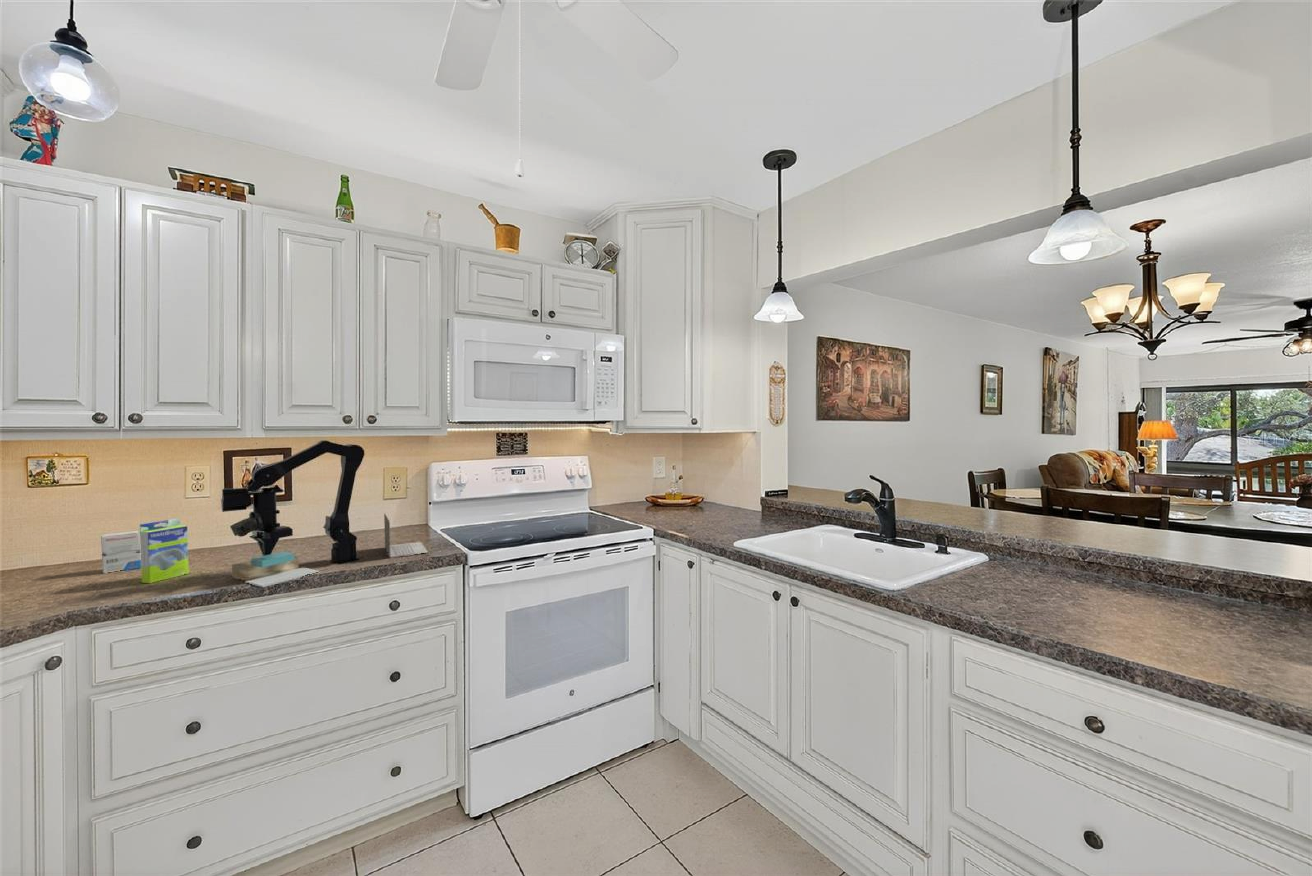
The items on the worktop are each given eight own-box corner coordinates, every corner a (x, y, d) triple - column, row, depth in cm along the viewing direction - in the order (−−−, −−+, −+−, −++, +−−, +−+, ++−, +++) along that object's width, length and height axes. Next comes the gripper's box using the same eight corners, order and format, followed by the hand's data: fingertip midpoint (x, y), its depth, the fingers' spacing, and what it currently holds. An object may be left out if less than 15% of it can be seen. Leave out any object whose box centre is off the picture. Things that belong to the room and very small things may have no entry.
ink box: (141, 565, 172) (139, 529, 171) (141, 568, 168) (139, 532, 168) (103, 570, 166) (101, 534, 165) (102, 574, 162) (100, 536, 162)
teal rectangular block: (284, 557, 166) (283, 551, 166) (294, 560, 163) (294, 553, 163) (251, 564, 158) (251, 558, 158) (262, 567, 155) (262, 560, 155)
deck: (282, 565, 171) (282, 553, 170) (298, 569, 167) (298, 557, 166) (232, 577, 158) (232, 564, 158) (248, 581, 154) (248, 568, 154)
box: (149, 584, 152) (146, 525, 152) (140, 582, 154) (137, 524, 153) (190, 573, 162) (188, 518, 162) (181, 572, 164) (179, 517, 163)
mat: (302, 568, 167) (302, 567, 167) (319, 572, 163) (319, 570, 163) (245, 583, 153) (245, 581, 153) (262, 587, 149) (262, 585, 149)
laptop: (428, 554, 186) (427, 517, 185) (389, 559, 179) (388, 521, 179) (421, 543, 201) (420, 510, 201) (384, 548, 195) (383, 513, 194)
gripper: (218, 509, 158) (220, 560, 159) (251, 514, 150) (253, 568, 151) (259, 504, 168) (261, 551, 169) (293, 508, 160) (294, 559, 161)
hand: (266, 557), depth 162 cm, fingers closed
